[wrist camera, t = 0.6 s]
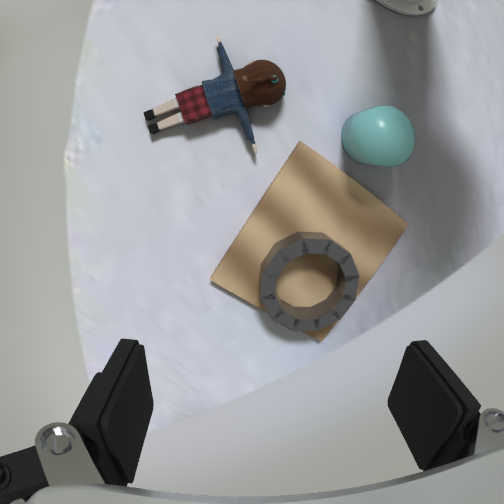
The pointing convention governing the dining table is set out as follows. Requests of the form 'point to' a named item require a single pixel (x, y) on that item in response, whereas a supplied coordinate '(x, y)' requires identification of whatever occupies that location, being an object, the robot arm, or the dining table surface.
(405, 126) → the teal rounded tetrahedron
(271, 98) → the toy
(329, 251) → the faceted gray ring
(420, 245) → the dining table surface
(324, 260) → the board
